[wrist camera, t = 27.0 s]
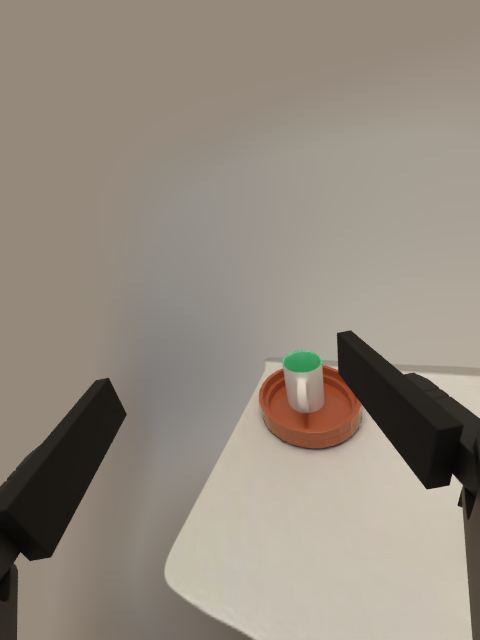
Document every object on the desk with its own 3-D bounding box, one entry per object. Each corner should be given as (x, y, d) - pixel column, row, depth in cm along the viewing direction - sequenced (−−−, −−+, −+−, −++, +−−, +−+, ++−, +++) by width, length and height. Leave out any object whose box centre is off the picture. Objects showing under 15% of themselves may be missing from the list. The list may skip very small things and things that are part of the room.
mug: (329, 429, 45) (326, 385, 41) (286, 427, 47) (280, 386, 43) (322, 387, 55) (319, 349, 51) (288, 387, 57) (283, 351, 54)
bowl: (260, 451, 44) (256, 434, 42) (263, 381, 62) (260, 367, 61) (379, 449, 40) (380, 430, 38) (344, 375, 59) (343, 360, 57)
